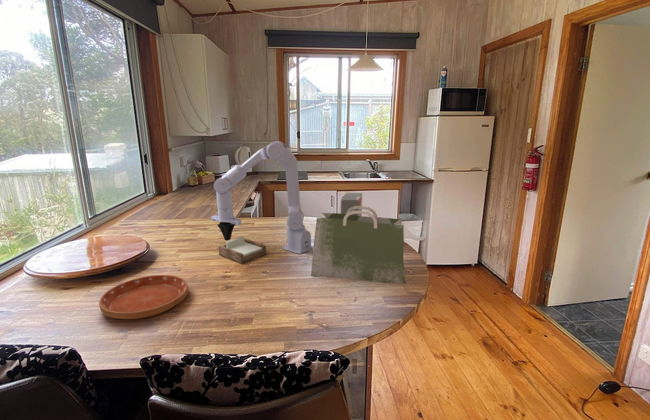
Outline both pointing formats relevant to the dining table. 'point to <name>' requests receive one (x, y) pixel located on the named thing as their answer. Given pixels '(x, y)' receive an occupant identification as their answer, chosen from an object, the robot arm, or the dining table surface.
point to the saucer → (143, 297)
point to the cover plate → (242, 246)
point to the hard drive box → (351, 202)
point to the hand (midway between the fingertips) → (227, 239)
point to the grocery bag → (359, 247)
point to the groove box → (239, 256)
